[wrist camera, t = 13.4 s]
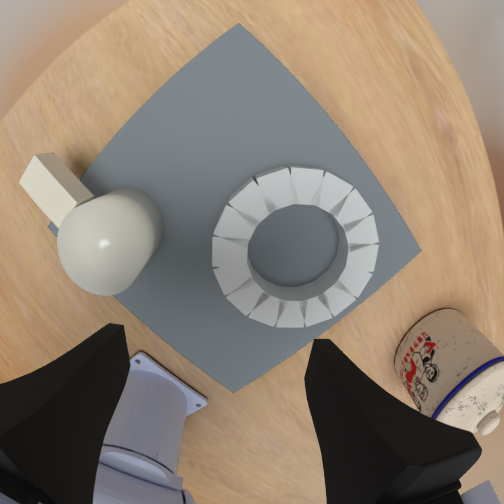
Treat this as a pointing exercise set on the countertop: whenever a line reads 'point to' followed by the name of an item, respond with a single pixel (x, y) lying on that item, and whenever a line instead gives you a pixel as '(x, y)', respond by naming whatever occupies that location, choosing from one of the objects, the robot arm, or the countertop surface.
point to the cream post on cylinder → (95, 226)
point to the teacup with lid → (452, 372)
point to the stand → (249, 212)
